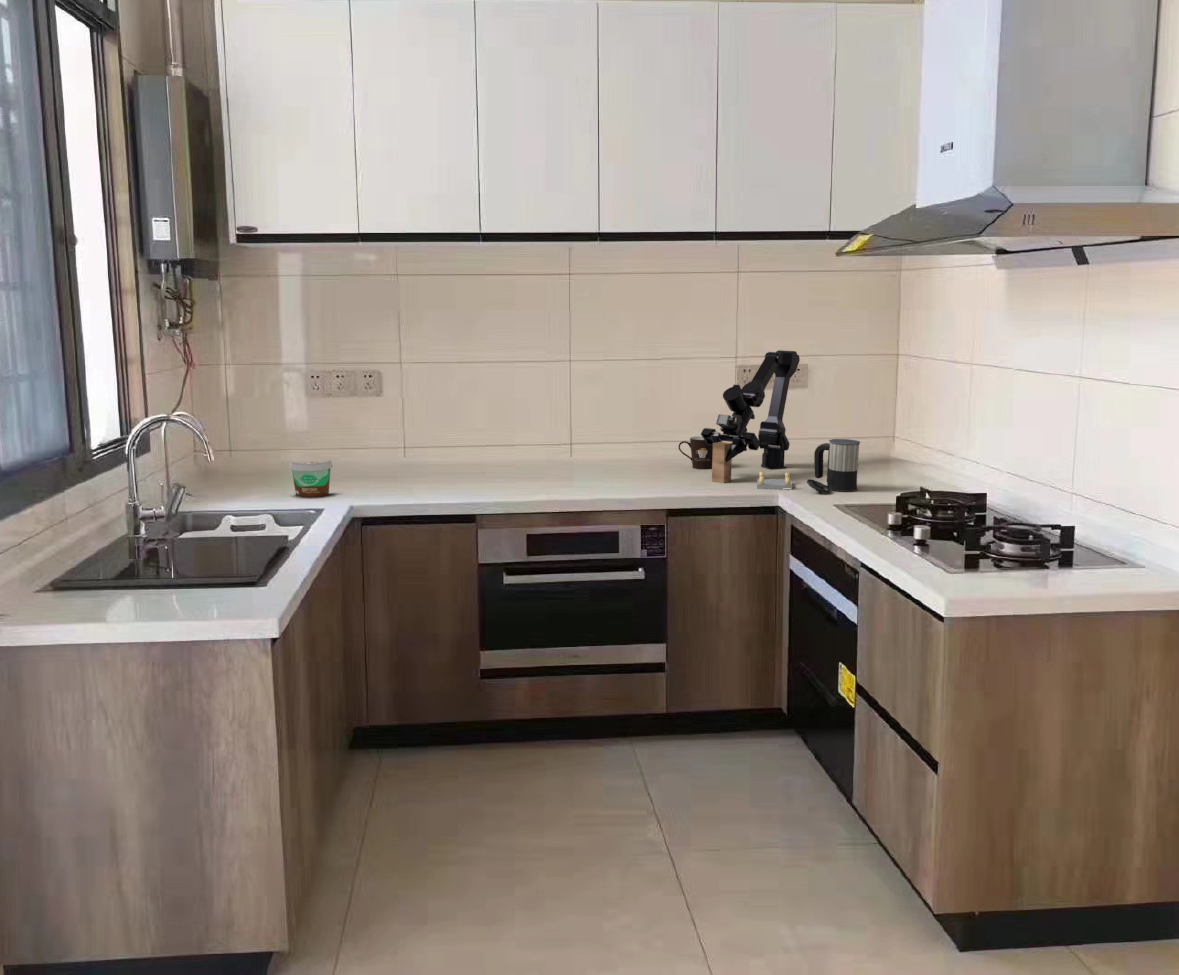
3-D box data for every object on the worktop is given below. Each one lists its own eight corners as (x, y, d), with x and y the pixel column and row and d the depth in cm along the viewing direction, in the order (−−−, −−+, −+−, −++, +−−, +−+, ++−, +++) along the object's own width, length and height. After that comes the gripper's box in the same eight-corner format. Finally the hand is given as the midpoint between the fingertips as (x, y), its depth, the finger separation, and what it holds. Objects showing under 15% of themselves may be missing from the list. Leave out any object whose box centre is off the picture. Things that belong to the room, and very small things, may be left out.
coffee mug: (719, 467, 376) (720, 437, 375) (708, 470, 369) (708, 440, 367) (688, 463, 383) (689, 434, 381) (676, 467, 375) (677, 437, 374)
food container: (291, 499, 320) (289, 464, 318) (290, 495, 326) (288, 461, 324) (335, 497, 323) (334, 462, 321) (334, 493, 329) (332, 459, 327)
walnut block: (719, 479, 354) (720, 441, 351) (731, 481, 351) (732, 443, 349) (711, 481, 350) (712, 443, 348) (723, 483, 348) (724, 444, 345)
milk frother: (859, 487, 341) (862, 439, 338) (853, 497, 327) (855, 446, 324) (812, 484, 346) (814, 437, 343) (804, 493, 331) (806, 444, 329)
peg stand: (757, 482, 349) (757, 471, 348) (791, 483, 348) (791, 472, 347) (757, 488, 339) (757, 477, 338) (792, 489, 337) (792, 478, 337)
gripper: (704, 402, 355) (684, 441, 348) (756, 407, 344) (736, 446, 337) (717, 424, 362) (697, 462, 356) (768, 429, 351) (749, 469, 345)
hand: (719, 460), depth 348 cm, fingers closed on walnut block, 4 cm apart
